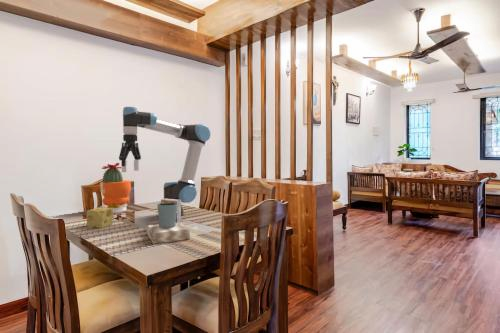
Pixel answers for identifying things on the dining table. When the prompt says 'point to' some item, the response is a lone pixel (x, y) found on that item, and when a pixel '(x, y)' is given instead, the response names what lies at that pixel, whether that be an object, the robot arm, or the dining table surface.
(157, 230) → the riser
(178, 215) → the candy bar box
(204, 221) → the dining table surface
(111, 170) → the potted cactus
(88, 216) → the cheese
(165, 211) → the grey green cup
